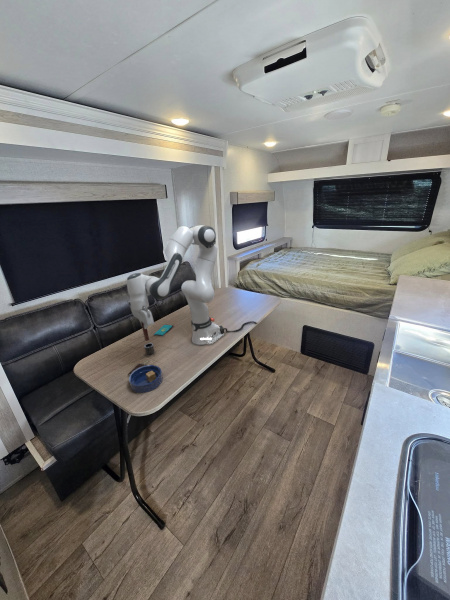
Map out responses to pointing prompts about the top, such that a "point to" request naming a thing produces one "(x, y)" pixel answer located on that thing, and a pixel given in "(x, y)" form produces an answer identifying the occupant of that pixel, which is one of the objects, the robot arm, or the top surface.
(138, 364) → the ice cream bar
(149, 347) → the holder
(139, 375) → the bowl
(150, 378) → the block
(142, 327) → the chopstick
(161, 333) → the smartphone
